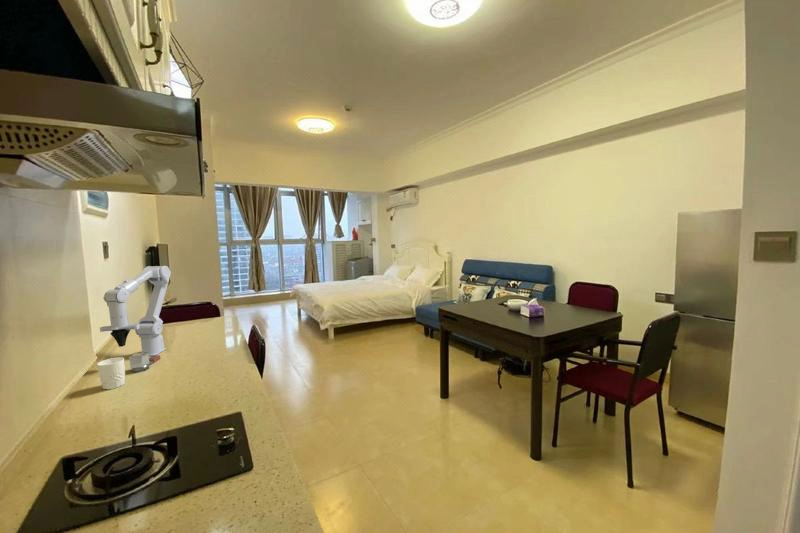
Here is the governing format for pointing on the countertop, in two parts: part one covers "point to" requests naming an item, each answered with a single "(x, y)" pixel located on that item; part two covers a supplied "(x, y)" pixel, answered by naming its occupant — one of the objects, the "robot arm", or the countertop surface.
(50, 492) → the countertop surface
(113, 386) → the white cup
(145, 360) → the socket
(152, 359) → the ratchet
